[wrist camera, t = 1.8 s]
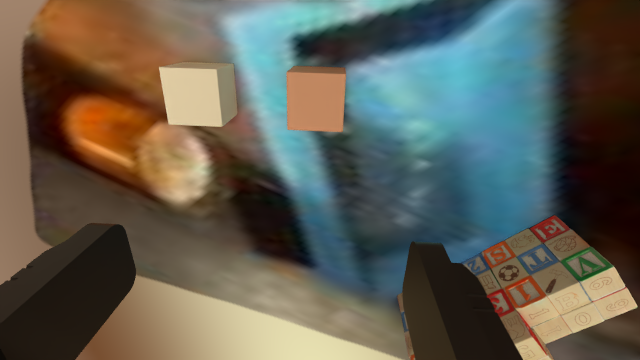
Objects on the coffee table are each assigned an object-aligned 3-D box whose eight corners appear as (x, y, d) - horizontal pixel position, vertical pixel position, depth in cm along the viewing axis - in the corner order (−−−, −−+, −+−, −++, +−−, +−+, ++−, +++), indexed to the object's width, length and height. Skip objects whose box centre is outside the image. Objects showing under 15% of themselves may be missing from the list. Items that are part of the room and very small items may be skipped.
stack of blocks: (554, 212, 37) (645, 290, 26) (576, 248, 39) (669, 336, 28) (395, 295, 44) (414, 386, 33) (420, 322, 46) (446, 417, 34)
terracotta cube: (345, 67, 32) (346, 74, 27) (342, 117, 34) (342, 131, 29) (294, 65, 32) (286, 72, 27) (294, 116, 34) (287, 129, 30)
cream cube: (233, 63, 32) (216, 69, 28) (237, 113, 34) (222, 126, 30) (184, 61, 32) (159, 67, 28) (191, 111, 35) (168, 124, 30)
